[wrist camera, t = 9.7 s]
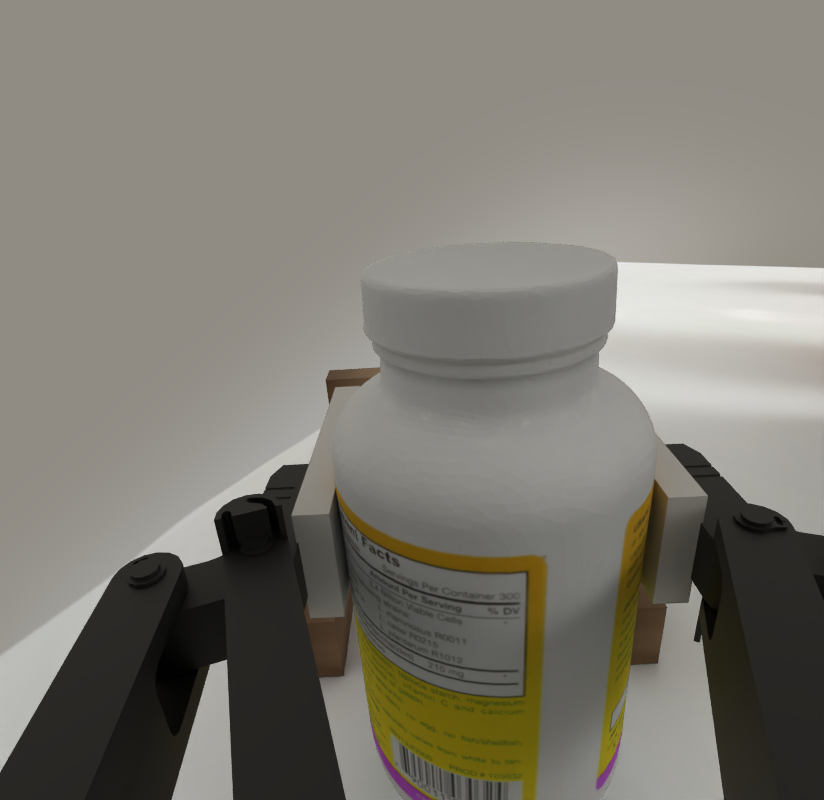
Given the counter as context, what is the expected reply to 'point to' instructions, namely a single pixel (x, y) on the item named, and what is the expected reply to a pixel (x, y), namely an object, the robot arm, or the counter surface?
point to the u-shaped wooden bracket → (334, 631)
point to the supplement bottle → (494, 521)
